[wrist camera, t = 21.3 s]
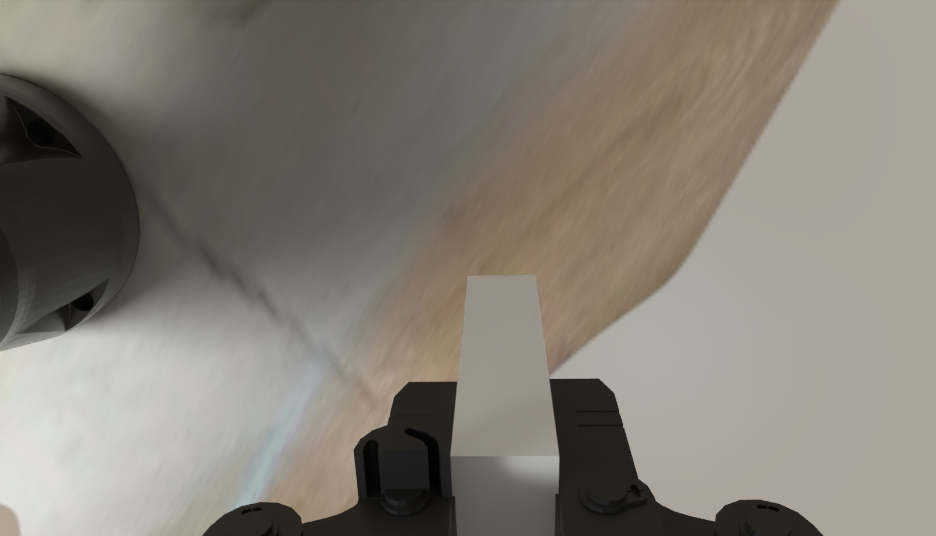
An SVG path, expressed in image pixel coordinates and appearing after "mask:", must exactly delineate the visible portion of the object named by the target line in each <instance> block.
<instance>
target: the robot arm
mask: <svg viewBox="0 0 936 536" xmlns="http://www.w3.org/2000/svg"><path fill="white" fill-rule="evenodd" d="M138 241H139V220H138V211H137V205H136V201H135V197H134V194H133V191H132V187H131V185H130V182H129V180H128V177H127V175H126V173H125V171H124V169H123V167H122V165H121V163H120V161H119V159H118V158H117V156H116V155H115V153H114V151H113V150H112V148H111V147H110V146H109V144H108V143H107V142H106V140H105V139H104V138H103V137H102V135H101V134H100V133H99V132H98V131H97V130H96V129H95V128H94V126H93V125H92V124H91V123H90V122H89V121H88V120H86V119H85V118H84V117H83V116H82V115H81V114H80V113H79V112H77V111H76V110H75V109H74V108H73V107H71V106H70V105H68V104H67V103H66V102H64V101H63V100H61V99H60V98H58V97H57V96H55V95H53V94H52V93H50V92H48V91H46V90H44V89H42V88H40V87H38V86H36V85H34V84H31V83H29V82H26V81H24V80H21V79H18V78H14V77H11V76H7V75H3V74H0V351H4V350H8V349H12V348H15V347H19V346H23V345H27V344H31V343H35V342H38V341H42V340H46V339H50V338H53V337H56V336H59V335H61V334H63V333H66V332H68V331H70V330H72V329H74V328H75V327H77V326H79V325H81V324H82V323H84V322H85V321H86V320H88V319H89V318H90V317H91V316H93V315H94V314H95V313H96V312H97V311H99V310H100V309H101V308H102V307H103V306H105V305H106V304H107V303H108V302H109V301H110V300H111V299H112V298H113V297H114V296H115V295H116V294H117V293H118V292H119V290H120V289H121V288H122V286H123V285H124V283H125V282H126V280H127V278H128V276H129V274H130V272H131V270H132V267H133V264H134V261H135V258H136V254H137V248H138ZM354 458H355V467H356V477H357V487H358V496H359V499H358V503H357V504H356V505H355V506H354V507H352V508H350V509H348V510H346V511H344V512H343V513H341V514H338V515H334V516H331V517H328V518H324V519H320V520H316V521H312V522H307V523H303V524H302V522H301V517H300V516H299V515H298V514H297V513H296V512H295V511H294V510H293V509H292V508H291V507H288V506H285V505H282V504H280V503H269V502H259V503H254V504H250V505H245V506H241V507H239V508H237V509H235V510H233V511H231V512H229V513H227V514H225V515H223V516H222V517H221V518H220V519H218V520H217V521H216V522H215V523H214V524H212V525H211V526H210V527H209V528H208V530H207V531H206V532H205V533H204V534H203V535H202V536H823V535H822V534H821V533H820V532H819V531H818V530H817V528H816V527H815V526H814V525H813V524H811V523H810V522H809V521H808V520H806V519H805V518H804V517H803V516H802V515H800V514H799V513H798V512H796V511H793V510H791V509H789V508H787V507H785V506H782V505H780V504H777V503H773V502H768V501H763V500H739V501H736V502H733V503H730V504H728V505H725V506H724V507H723V508H722V509H721V510H720V511H719V512H718V513H717V514H716V519H715V522H714V521H709V520H705V519H701V518H696V517H692V516H688V515H684V514H681V513H678V512H674V511H672V510H670V509H668V508H666V507H664V506H662V505H660V504H659V503H658V502H656V501H655V498H654V496H653V494H652V492H651V491H650V489H649V487H648V486H647V485H646V484H644V483H643V482H642V481H640V480H639V479H638V476H637V472H636V469H635V465H634V462H633V458H632V455H631V451H630V447H629V444H628V441H627V437H626V433H625V430H624V428H623V423H622V419H621V416H620V414H619V408H618V405H617V401H616V398H615V395H614V393H613V392H612V391H611V390H610V389H609V388H608V387H607V386H606V385H605V384H604V383H603V382H602V381H601V380H600V379H549V374H548V366H547V359H546V351H545V343H544V336H543V328H542V320H541V313H540V305H539V298H538V290H537V282H536V275H486V276H468V277H467V287H466V298H465V308H464V319H463V329H462V340H461V350H460V360H459V371H458V381H457V382H408V383H407V384H406V385H405V386H404V387H403V388H402V390H401V391H400V392H399V393H398V394H397V395H396V396H395V397H394V400H393V404H392V408H391V412H390V417H389V421H388V425H387V426H384V427H381V428H378V429H375V430H373V431H371V432H370V433H368V434H367V435H366V436H364V437H363V438H361V439H360V441H359V442H358V444H357V445H356V447H355V449H354Z"/></svg>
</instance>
